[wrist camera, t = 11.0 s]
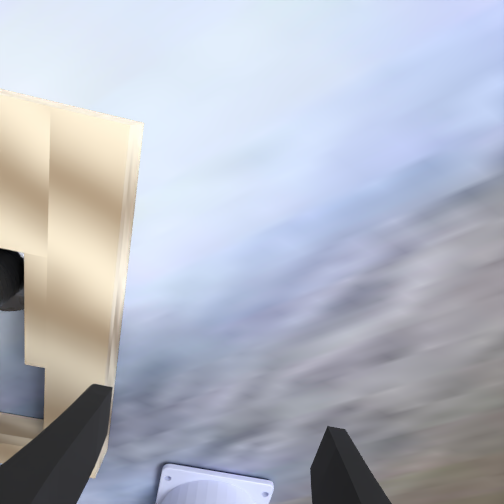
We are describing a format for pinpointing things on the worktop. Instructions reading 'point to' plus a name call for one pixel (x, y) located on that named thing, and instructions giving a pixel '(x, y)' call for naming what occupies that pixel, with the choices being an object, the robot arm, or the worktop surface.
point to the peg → (11, 280)
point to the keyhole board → (67, 245)
